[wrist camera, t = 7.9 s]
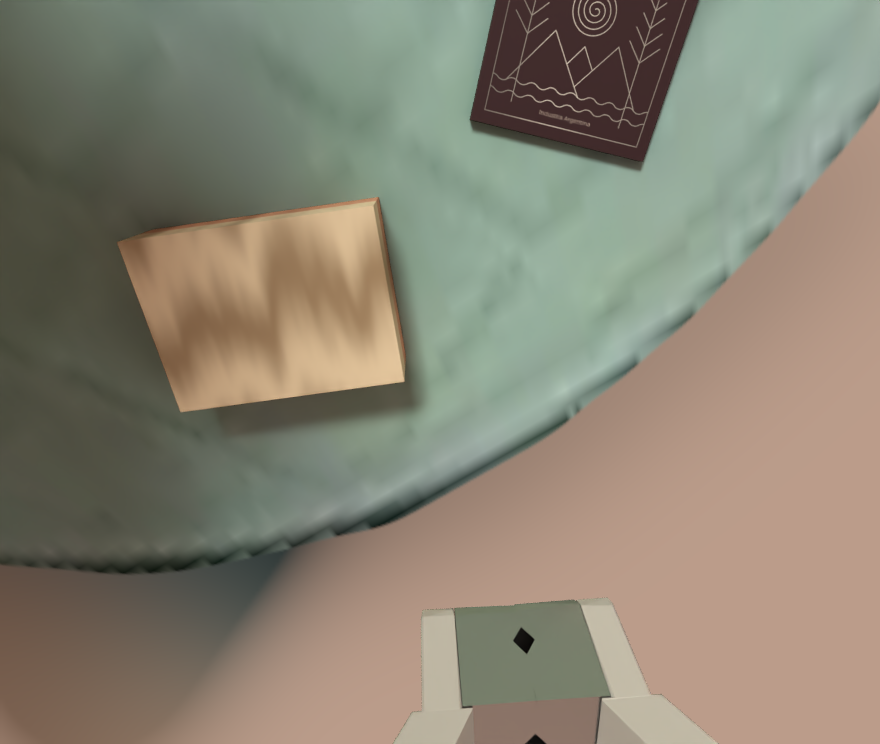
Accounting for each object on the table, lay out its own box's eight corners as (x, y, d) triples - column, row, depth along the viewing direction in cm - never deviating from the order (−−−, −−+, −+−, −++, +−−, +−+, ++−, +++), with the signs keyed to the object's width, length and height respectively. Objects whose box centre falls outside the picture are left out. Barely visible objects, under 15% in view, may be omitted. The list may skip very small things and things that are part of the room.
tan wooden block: (379, 196, 28) (155, 228, 28) (373, 205, 24) (116, 242, 25) (405, 353, 32) (207, 380, 32) (404, 381, 28) (180, 412, 28)
